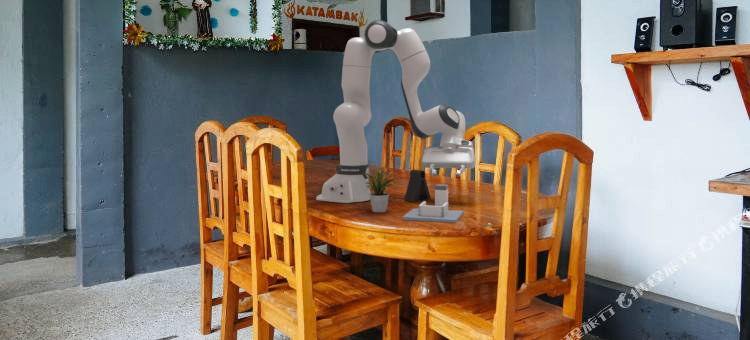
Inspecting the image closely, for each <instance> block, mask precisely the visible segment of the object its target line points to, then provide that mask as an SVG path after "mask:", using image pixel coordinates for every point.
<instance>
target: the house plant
mask: <svg viewBox="0 0 750 340" xmlns="http://www.w3.org/2000/svg"><path fill="white" fill-rule="evenodd" d="M389 168H390V167H387V168H386V169H385V170H384V171H383V173H382V169H379V166H377V168H376V169H377V170H376V174H377V175H376V174H375V173H374V172H373V171H372V170H370V172H369V174H368V173H365V174H367V175H368V176H369V178H368V180H369V181H370V182H366V184H369V186H368V185H367V187H369V188H367V187H366V188H367V189H371V190H372V191H373V192H371V194H370V200H369V201H370V206H371V210H372V212H373V213H386V212H387V211H388V204H389V199H390V197H389V196H390V193H388V192H385V191H386V190H388V189H389V188H390V187H396V188H397V185H396V183H395V182H394V181H398V180H399V178H391V179H389V178H390V177H392V174H393V173H394V172H395V170H393V171H391V172H390V173H388V174H387V175H386V176H385V174H386V172H387V171H388V170H389ZM395 174H397V172H396V173H394V175H395ZM367 175H366V176H367ZM384 176H385V178H384ZM383 179H384V180H383ZM392 182H394V183H392ZM367 189H366V190H367Z"/></svg>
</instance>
